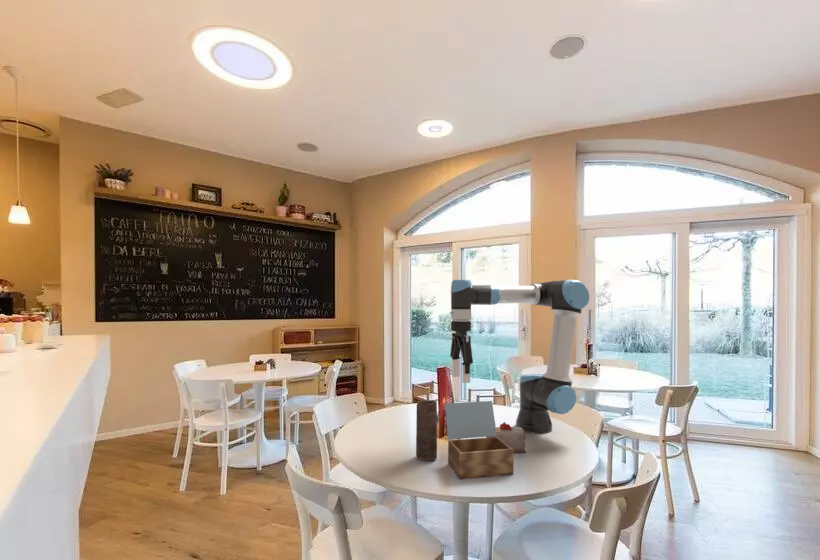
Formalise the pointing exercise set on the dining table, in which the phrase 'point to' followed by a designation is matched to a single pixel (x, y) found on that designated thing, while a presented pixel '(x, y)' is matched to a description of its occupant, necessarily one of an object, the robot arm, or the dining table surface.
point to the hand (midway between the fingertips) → (460, 379)
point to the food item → (512, 437)
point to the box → (480, 457)
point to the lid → (470, 420)
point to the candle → (426, 430)
